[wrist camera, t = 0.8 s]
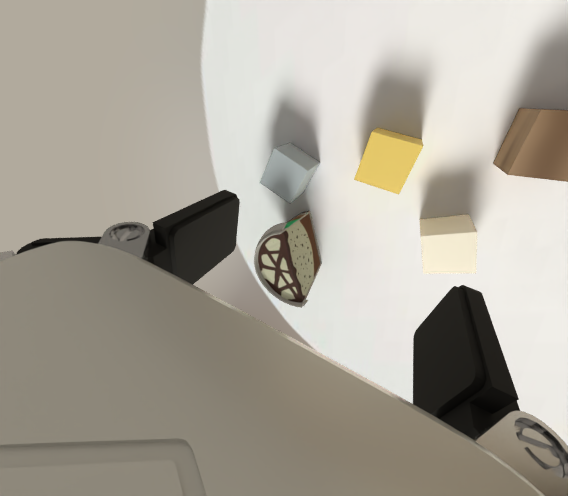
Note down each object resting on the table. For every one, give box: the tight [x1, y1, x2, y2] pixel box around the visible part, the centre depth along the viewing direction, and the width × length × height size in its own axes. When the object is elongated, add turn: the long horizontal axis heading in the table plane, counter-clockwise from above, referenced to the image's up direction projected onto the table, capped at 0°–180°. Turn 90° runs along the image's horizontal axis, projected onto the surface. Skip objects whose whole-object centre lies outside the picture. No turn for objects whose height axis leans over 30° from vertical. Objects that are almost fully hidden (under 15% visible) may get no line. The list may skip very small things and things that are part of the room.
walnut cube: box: [493, 108, 568, 182], centre depth 21 cm, size 5×5×5 cm
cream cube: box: [420, 214, 477, 274], centre depth 29 cm, size 5×5×5 cm
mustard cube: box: [354, 128, 423, 194], centre depth 27 cm, size 5×5×5 cm
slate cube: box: [260, 143, 320, 203], centre depth 32 cm, size 5×5×5 cm
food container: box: [254, 211, 322, 308], centre depth 36 cm, size 12×6×10 cm, turn 18°
